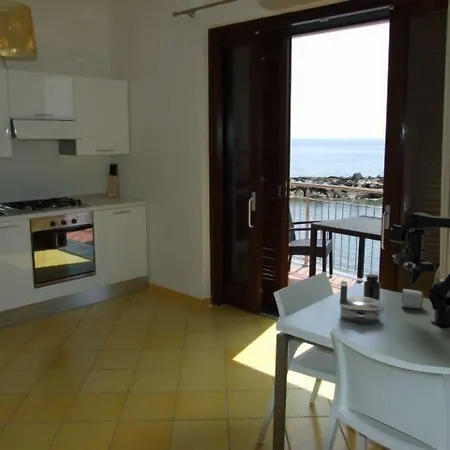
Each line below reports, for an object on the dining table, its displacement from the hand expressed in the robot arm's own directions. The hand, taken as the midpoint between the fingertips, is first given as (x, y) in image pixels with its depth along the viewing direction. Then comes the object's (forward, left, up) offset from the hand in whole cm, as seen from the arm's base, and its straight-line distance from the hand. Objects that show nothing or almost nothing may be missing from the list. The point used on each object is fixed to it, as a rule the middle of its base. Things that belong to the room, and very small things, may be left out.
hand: (412, 284), depth 202 cm
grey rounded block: (+11, -7, -13) cm, 19 cm away
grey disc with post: (+2, +21, -8) cm, 23 cm away
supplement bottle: (+20, +6, -13) cm, 25 cm away
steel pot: (+2, +21, -13) cm, 25 cm away
